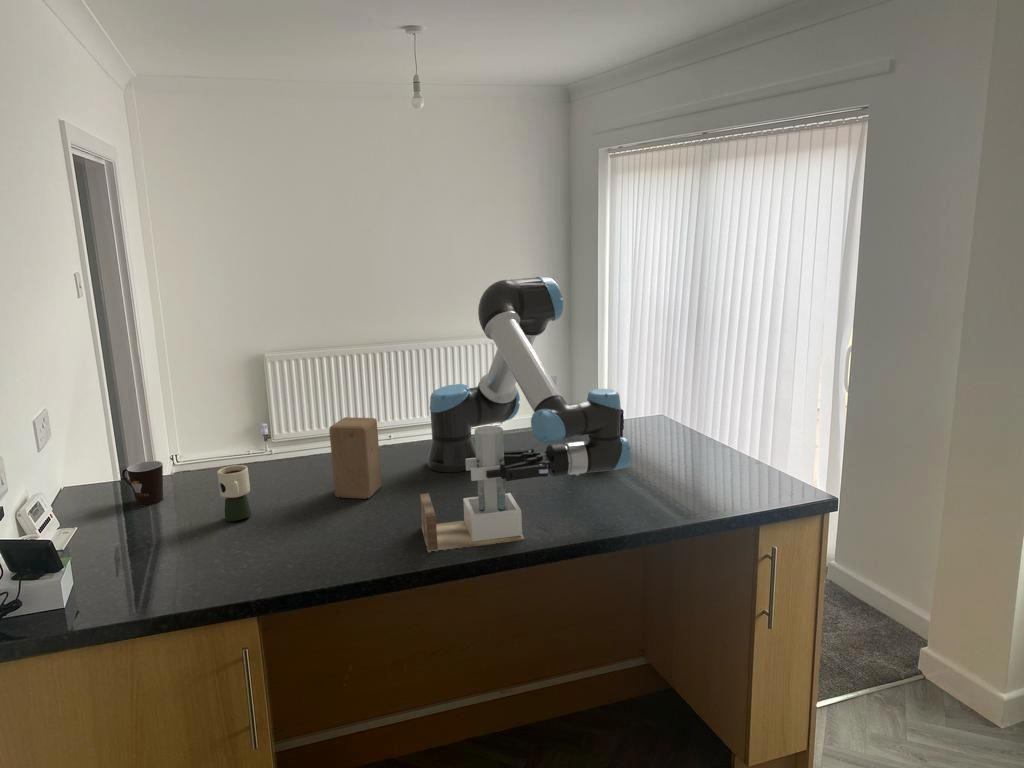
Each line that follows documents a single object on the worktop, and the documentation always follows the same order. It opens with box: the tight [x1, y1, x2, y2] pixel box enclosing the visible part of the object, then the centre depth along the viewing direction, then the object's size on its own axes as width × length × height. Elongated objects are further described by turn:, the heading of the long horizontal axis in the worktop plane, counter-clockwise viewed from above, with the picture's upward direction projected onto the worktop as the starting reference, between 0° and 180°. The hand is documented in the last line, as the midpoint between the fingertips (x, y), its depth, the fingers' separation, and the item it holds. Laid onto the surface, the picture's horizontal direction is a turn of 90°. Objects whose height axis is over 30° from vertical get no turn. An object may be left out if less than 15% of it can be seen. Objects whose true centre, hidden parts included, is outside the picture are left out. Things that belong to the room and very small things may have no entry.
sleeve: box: [462, 492, 523, 542], centre depth 171 cm, size 12×12×6 cm
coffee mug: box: [121, 460, 164, 506], centre depth 198 cm, size 12×9×10 cm
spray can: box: [474, 425, 506, 514], centre depth 169 cm, size 6×6×20 cm
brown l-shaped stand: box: [419, 492, 525, 553], centre depth 170 cm, size 14×22×8 cm, turn 103°
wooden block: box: [329, 416, 383, 500], centre depth 197 cm, size 10×10×20 cm
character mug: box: [216, 464, 252, 522], centre depth 183 cm, size 11×7×13 cm, turn 26°
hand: (468, 469), depth 167 cm, fingers closed on spray can, 6 cm apart
